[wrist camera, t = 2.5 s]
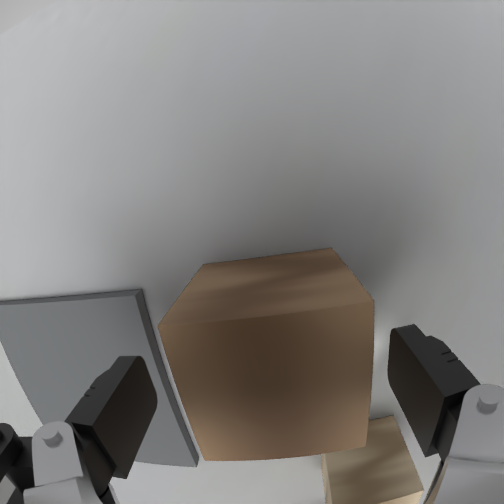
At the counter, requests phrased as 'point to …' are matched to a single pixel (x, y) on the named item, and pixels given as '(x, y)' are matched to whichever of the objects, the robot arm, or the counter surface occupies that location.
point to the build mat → (90, 360)
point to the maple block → (373, 469)
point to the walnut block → (273, 356)
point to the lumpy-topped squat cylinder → (6, 490)
